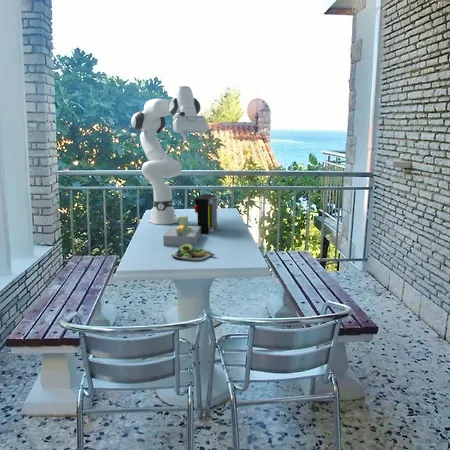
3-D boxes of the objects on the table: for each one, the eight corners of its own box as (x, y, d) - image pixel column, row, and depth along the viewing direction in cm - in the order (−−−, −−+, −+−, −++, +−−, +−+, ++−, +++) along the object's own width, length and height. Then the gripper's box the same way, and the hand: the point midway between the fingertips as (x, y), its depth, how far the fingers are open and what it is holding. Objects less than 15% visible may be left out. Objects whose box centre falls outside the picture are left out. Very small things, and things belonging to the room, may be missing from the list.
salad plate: (221, 253, 222) (221, 244, 221) (206, 264, 206) (206, 254, 205) (185, 249, 229) (185, 240, 228) (168, 259, 213) (167, 249, 212)
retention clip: (180, 230, 245) (180, 224, 245) (185, 230, 245) (185, 224, 245) (176, 235, 235) (176, 229, 234) (181, 235, 235) (181, 229, 234)
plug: (178, 234, 252) (178, 214, 250) (191, 234, 251) (190, 215, 249) (176, 237, 245) (175, 217, 243) (189, 237, 245) (188, 217, 242)
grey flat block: (172, 234, 259) (172, 225, 258) (201, 235, 258) (200, 226, 257) (163, 245, 236) (163, 235, 235) (194, 246, 234) (194, 236, 233)
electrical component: (212, 234, 259) (211, 199, 255) (194, 233, 261) (194, 198, 257) (218, 227, 276) (218, 194, 271) (202, 227, 278) (201, 194, 273)
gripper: (201, 117, 258) (206, 141, 258) (169, 117, 247) (174, 142, 246) (207, 113, 253) (212, 138, 253) (175, 113, 242) (179, 138, 241)
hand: (193, 140), depth 249 cm, fingers open, 8 cm apart
